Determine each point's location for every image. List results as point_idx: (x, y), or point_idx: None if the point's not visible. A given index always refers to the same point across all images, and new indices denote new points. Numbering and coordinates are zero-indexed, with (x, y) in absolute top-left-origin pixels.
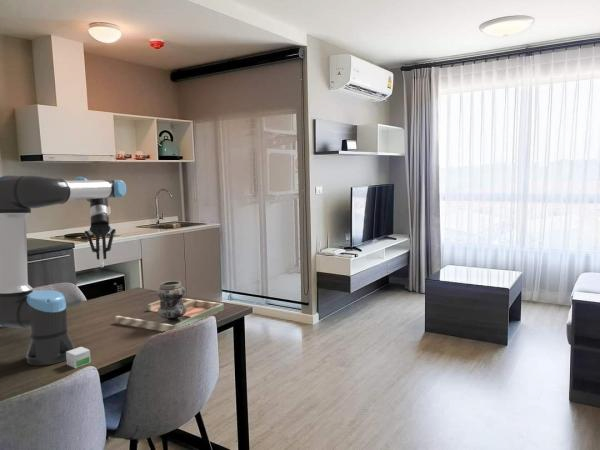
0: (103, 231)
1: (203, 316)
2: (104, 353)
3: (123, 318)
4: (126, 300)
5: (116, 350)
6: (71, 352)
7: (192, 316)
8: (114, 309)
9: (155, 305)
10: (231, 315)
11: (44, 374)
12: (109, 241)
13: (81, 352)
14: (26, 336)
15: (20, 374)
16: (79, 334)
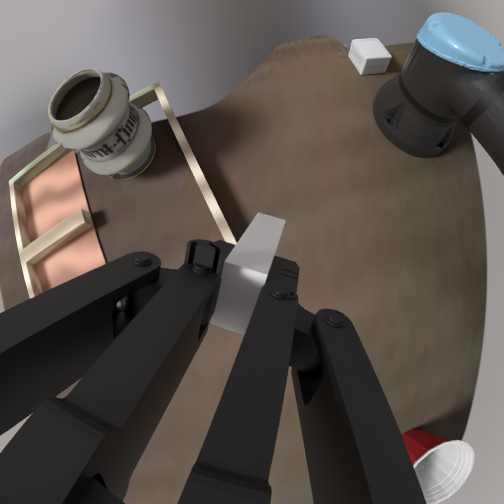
0: (11, 492)
1: None
2: (320, 73)
3: (224, 218)
4: (147, 464)
5: (297, 72)
6: (382, 48)
7: (75, 172)
8: (202, 405)
9: None
10: (33, 141)
11: None
12: (74, 299)
13: (366, 39)
14: (455, 297)
15: None
16: (353, 221)
